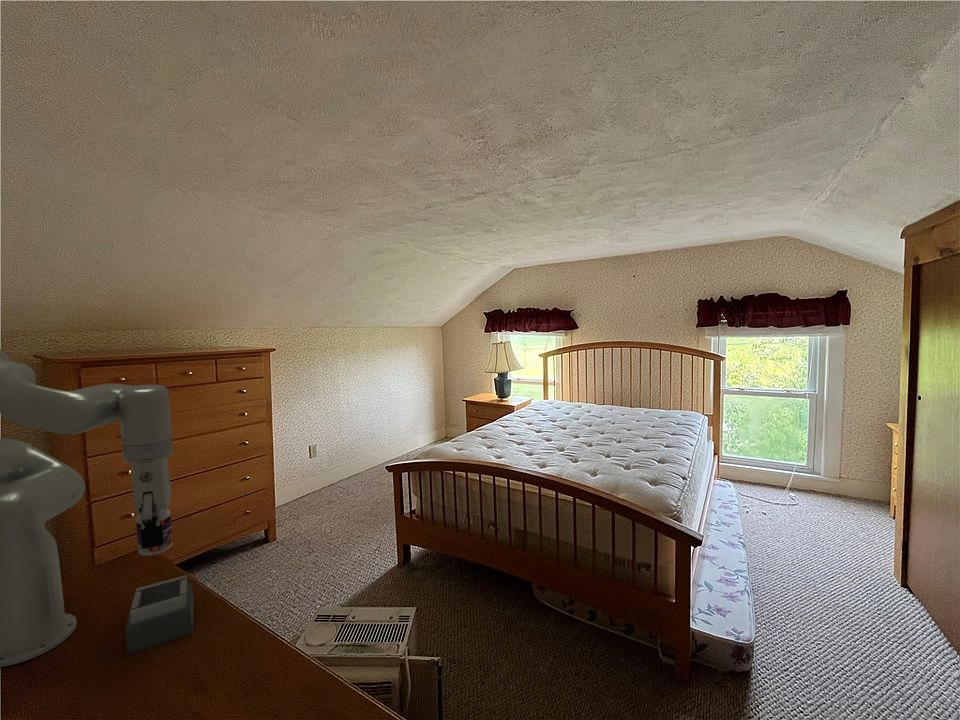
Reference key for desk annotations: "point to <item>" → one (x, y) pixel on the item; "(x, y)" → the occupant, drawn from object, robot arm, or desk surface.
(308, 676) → the desk surface
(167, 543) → the pill bottle
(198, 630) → the desk surface
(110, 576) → the desk surface
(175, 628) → the grey open box
